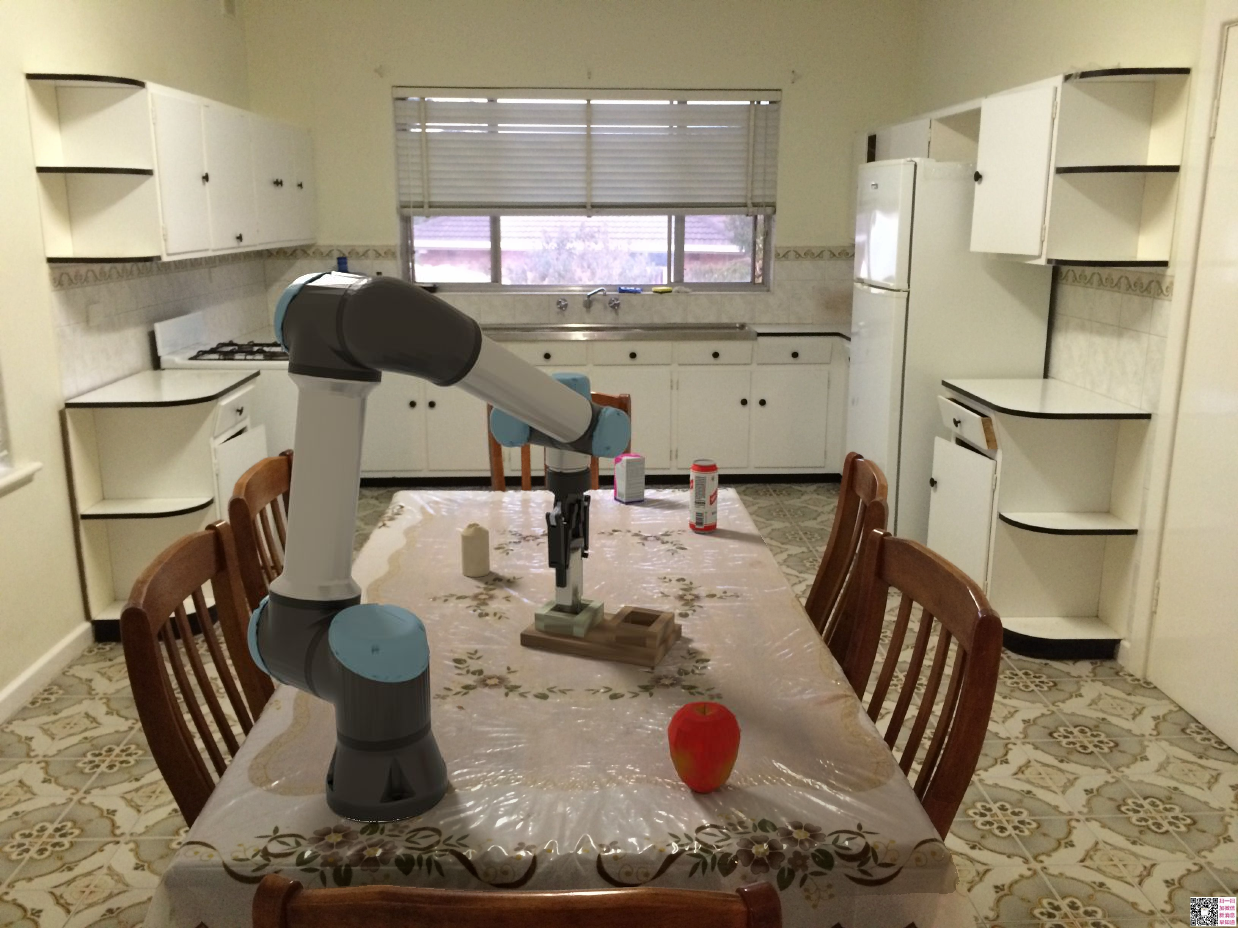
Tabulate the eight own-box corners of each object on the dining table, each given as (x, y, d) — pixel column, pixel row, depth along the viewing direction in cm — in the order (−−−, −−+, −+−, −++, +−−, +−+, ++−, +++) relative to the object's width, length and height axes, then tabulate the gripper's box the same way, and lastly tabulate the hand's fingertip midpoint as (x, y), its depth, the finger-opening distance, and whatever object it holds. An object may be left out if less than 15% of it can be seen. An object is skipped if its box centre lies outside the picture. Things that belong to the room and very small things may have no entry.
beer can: (686, 532, 239) (687, 464, 235) (692, 524, 245) (693, 457, 241) (713, 535, 237) (715, 466, 233) (719, 527, 243) (721, 459, 239)
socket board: (653, 667, 171) (654, 638, 169) (520, 644, 179) (519, 616, 178) (681, 635, 183) (682, 608, 182) (555, 614, 192) (555, 588, 191)
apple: (735, 767, 141) (738, 684, 138) (742, 805, 132) (745, 717, 129) (665, 766, 141) (667, 683, 138) (667, 804, 132) (669, 716, 129)
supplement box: (645, 501, 264) (645, 456, 261) (624, 504, 261) (625, 459, 258) (633, 495, 268) (633, 451, 266) (613, 499, 266) (613, 454, 263)
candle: (492, 575, 212) (491, 527, 209) (465, 578, 210) (464, 530, 207) (485, 566, 217) (484, 519, 214) (459, 569, 215) (457, 522, 212)
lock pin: (577, 630, 180) (576, 544, 176) (550, 625, 182) (549, 541, 178) (588, 619, 184) (588, 536, 181) (562, 615, 186) (561, 532, 182)
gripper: (567, 481, 167) (568, 619, 173) (608, 457, 182) (608, 585, 188) (525, 476, 170) (527, 613, 175) (569, 453, 185) (570, 579, 191)
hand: (569, 598), depth 182 cm, fingers closed on lock pin, 4 cm apart
